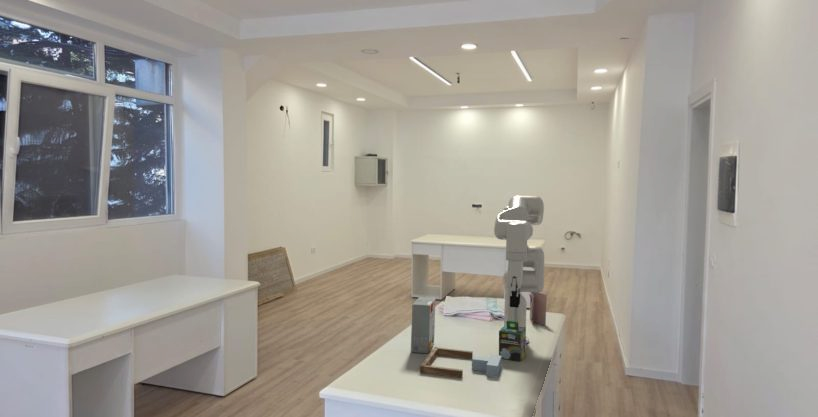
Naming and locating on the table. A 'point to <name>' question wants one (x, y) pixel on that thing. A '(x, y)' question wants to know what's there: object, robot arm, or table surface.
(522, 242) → the robot arm
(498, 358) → the tee block
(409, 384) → the table surface
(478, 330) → the table surface
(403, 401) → the table surface
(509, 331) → the chalk box
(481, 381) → the table surface
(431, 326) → the hard drive box
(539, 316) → the greeting card
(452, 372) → the walnut bay
